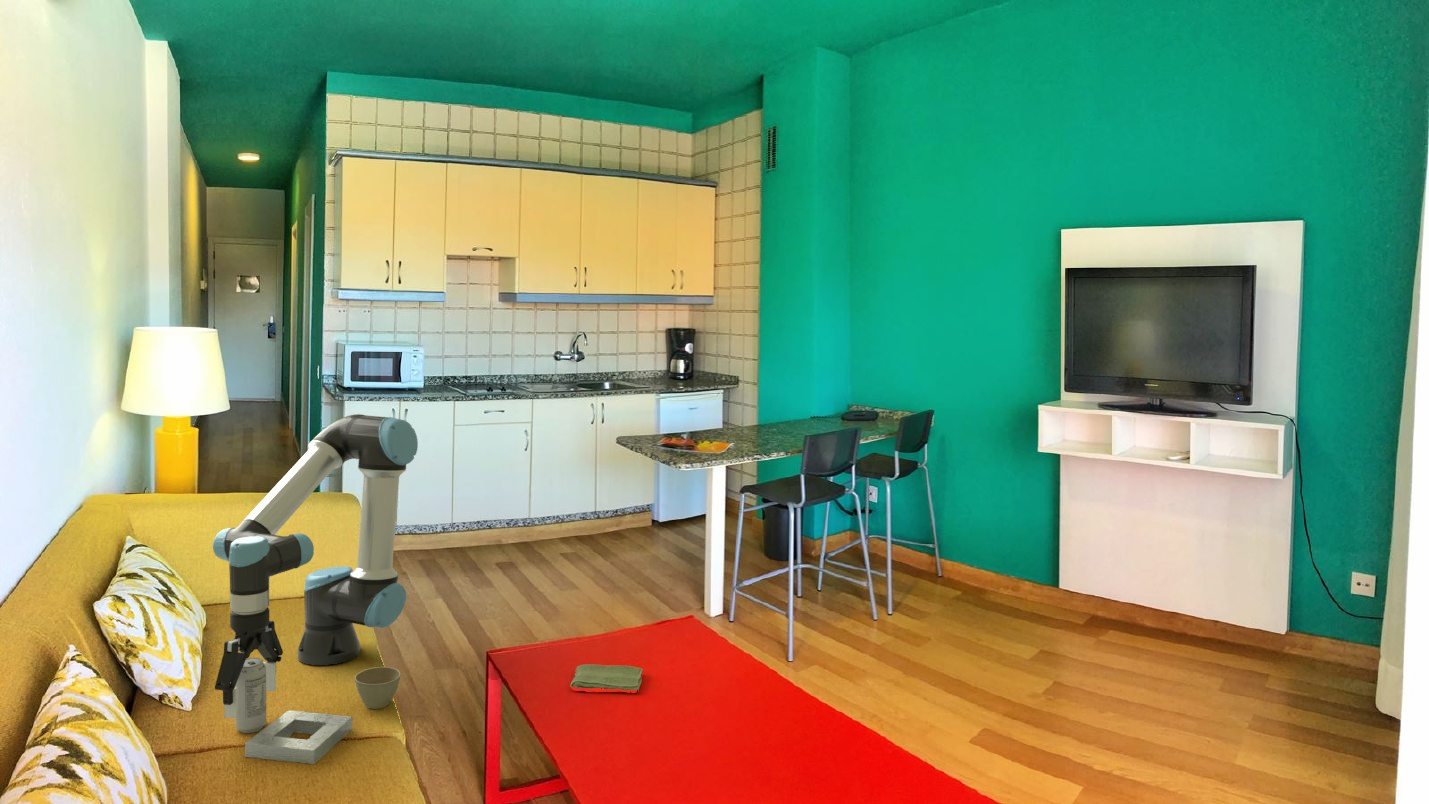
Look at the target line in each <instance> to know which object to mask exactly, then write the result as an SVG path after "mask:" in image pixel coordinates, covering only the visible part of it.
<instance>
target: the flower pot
mask: <svg viewBox="0 0 1429 804" xmlns="http://www.w3.org/2000/svg"><path fill="white" fill-rule="evenodd" d="M401 674H402V673H401V672H400V670H399V669H397V668H394V667H390V666H389V667H388V666H377V667H369V668H367V669H363V670H361V671H358V673H356V675H355V676H354V681H355V687H356V691H357V693H358V696H359V697H360V699H361V701H362V703H363V704H364V705H365V707H366V708H367V709H371V710H378V709H383V708H385V707H388V705H389V704H390V703H391V701H392V700H393V697H394V696H395V694H396V692H397V690H398V687H399V684H400V679H401Z"/></svg>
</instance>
